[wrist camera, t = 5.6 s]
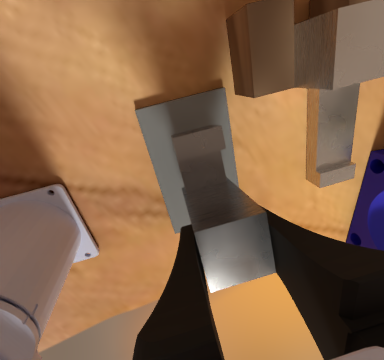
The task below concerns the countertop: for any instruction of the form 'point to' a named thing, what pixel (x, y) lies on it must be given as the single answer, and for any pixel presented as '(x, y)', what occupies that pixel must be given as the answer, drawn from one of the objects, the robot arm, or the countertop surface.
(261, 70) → the vise
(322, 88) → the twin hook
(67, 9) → the countertop surface
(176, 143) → the gray stepped bracket
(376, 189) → the blue cradle bracket
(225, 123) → the pad
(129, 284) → the countertop surface
